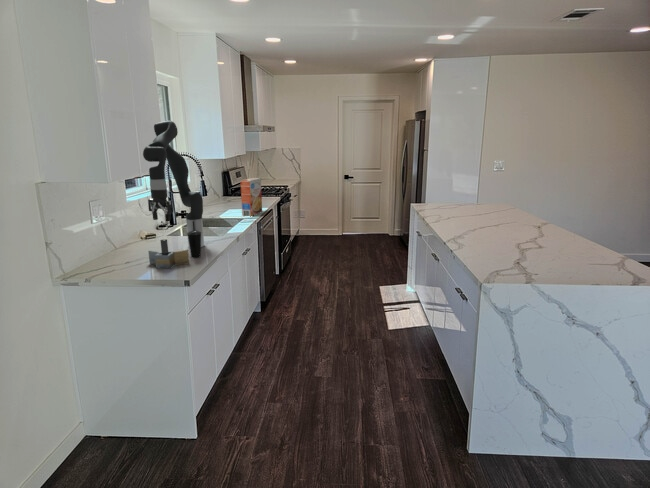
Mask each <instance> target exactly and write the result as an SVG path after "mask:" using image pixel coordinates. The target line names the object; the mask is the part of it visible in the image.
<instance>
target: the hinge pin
mask: <svg viewBox="0 0 650 488" xmlns="http://www.w3.org/2000/svg"><path fill="white" fill-rule="evenodd" d="M159 242H160V249H161V251H162V255H168V251H169V246H168V243H169V242H168V239H167V238H166V239H164V238H163V239H160V241H159ZM161 251H160V252H161Z"/></svg>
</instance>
